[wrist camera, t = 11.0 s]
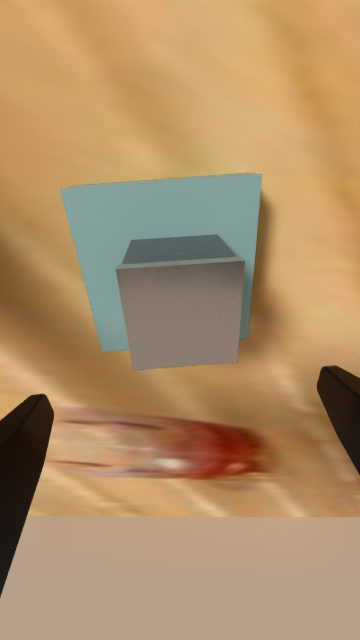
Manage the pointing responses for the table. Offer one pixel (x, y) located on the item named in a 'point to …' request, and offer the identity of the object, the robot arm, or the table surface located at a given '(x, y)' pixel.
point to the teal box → (157, 232)
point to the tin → (181, 301)
